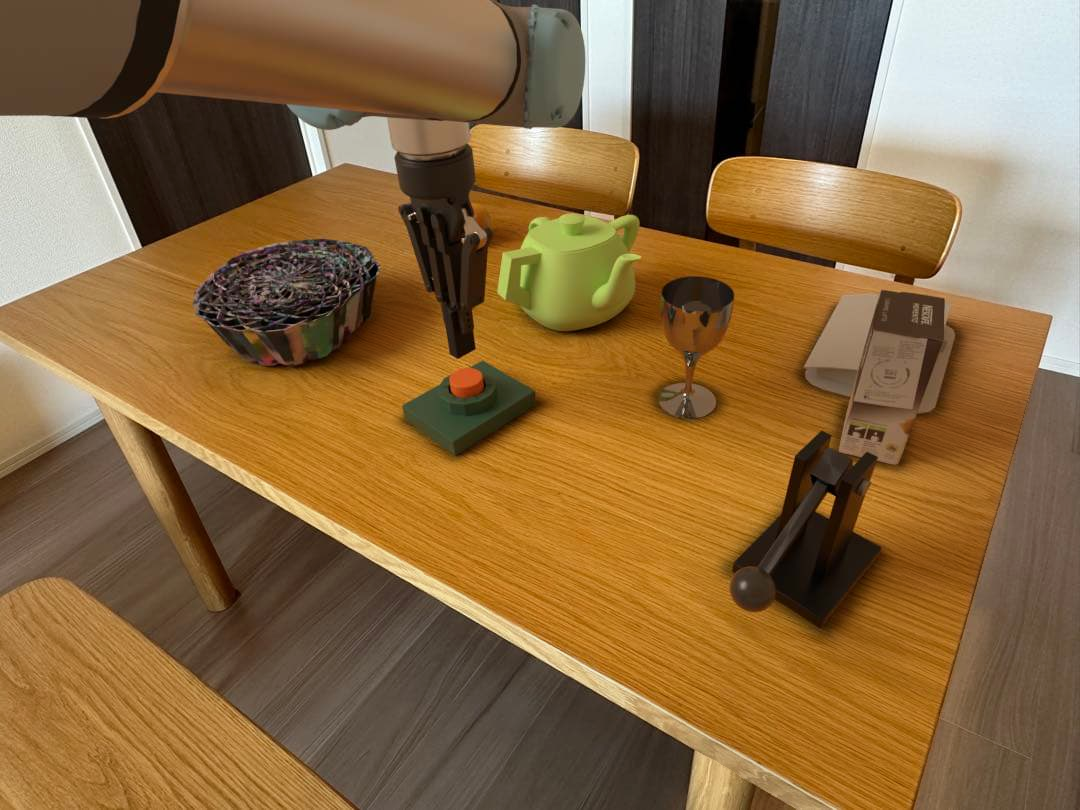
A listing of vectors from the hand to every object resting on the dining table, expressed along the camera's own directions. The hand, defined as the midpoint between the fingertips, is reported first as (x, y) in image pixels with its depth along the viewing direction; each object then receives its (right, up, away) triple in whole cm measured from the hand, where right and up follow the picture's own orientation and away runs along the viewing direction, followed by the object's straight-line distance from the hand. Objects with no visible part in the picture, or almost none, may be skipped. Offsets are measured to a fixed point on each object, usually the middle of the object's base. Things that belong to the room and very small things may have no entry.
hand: (462, 351), depth 81 cm
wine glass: (+27, -6, +5) cm, 28 cm away
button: (0, -4, +3) cm, 5 cm away
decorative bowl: (-27, +5, +24) cm, 36 cm away
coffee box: (+47, -10, -2) cm, 48 cm away
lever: (+30, -18, -23) cm, 42 cm away
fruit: (-4, +23, +45) cm, 51 cm away
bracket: (+34, -21, -15) cm, 43 cm away
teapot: (+15, +8, +23) cm, 29 cm away
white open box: (+54, 0, +11) cm, 55 cm away
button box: (0, -7, +5) cm, 9 cm away
